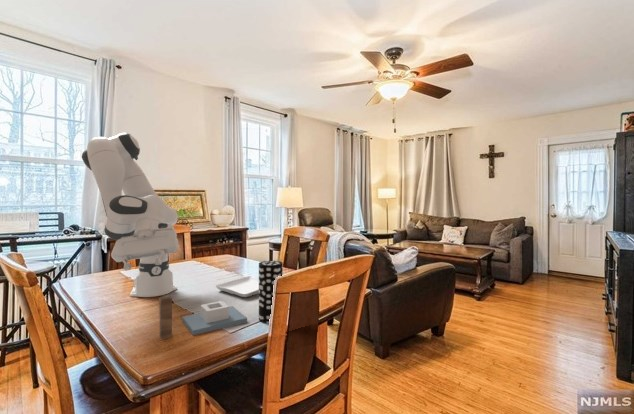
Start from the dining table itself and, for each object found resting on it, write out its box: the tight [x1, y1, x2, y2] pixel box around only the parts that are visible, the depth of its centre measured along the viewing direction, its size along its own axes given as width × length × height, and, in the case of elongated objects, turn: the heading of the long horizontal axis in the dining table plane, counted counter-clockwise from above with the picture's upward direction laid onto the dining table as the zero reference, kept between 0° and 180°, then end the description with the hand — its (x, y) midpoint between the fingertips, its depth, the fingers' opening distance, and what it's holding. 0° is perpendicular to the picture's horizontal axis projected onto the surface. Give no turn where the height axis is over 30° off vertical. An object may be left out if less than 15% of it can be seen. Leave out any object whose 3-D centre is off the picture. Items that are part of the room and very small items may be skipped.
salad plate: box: [215, 275, 259, 298], centre depth 144 cm, size 21×21×3 cm
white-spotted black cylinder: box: [258, 260, 284, 324], centre depth 110 cm, size 8×8×20 cm
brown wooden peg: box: [158, 295, 173, 340], centre depth 96 cm, size 3×3×12 cm
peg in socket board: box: [182, 300, 248, 336], centre depth 108 cm, size 14×18×6 cm
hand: (142, 266), depth 99 cm, fingers open, 8 cm apart
